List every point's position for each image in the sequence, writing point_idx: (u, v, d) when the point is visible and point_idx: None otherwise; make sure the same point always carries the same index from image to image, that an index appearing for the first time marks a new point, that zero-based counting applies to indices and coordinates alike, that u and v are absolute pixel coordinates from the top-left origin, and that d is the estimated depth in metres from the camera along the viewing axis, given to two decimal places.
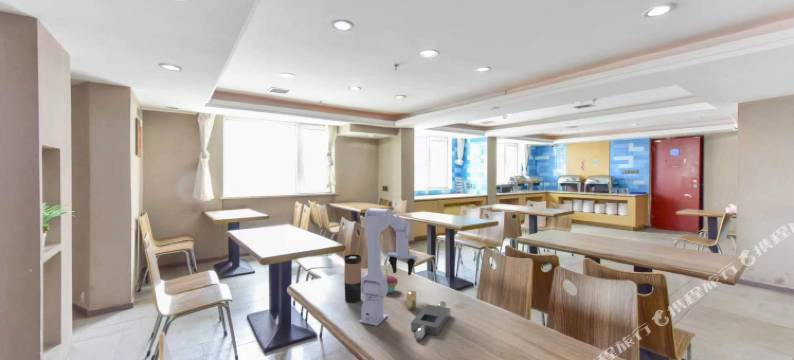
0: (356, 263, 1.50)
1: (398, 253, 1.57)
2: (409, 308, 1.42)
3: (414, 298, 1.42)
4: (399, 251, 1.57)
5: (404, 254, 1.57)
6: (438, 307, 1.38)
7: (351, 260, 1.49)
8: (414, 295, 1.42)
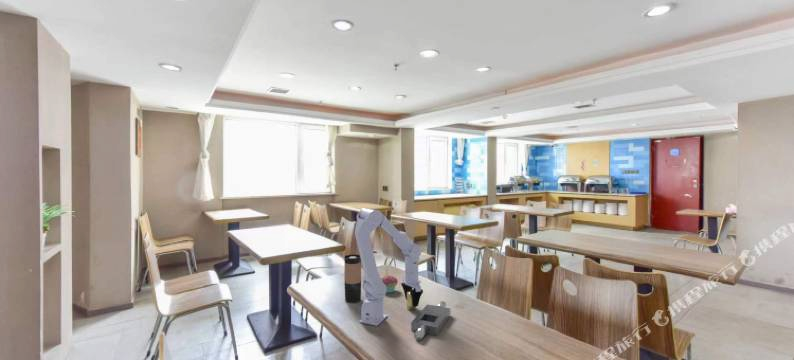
0: (356, 263, 1.50)
1: (405, 279, 1.43)
2: (409, 308, 1.42)
3: None
4: (405, 277, 1.43)
5: (409, 282, 1.41)
6: (438, 307, 1.38)
7: (351, 260, 1.49)
8: None
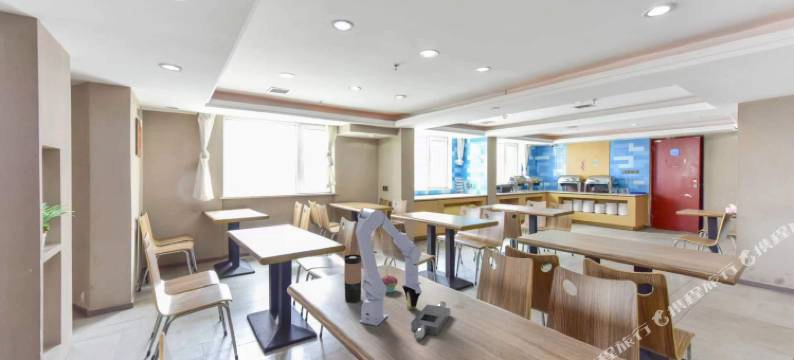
0: (356, 263, 1.50)
1: (405, 280, 1.43)
2: (409, 308, 1.42)
3: None
4: (405, 278, 1.43)
5: (409, 283, 1.41)
6: (438, 307, 1.38)
7: (351, 260, 1.49)
8: None
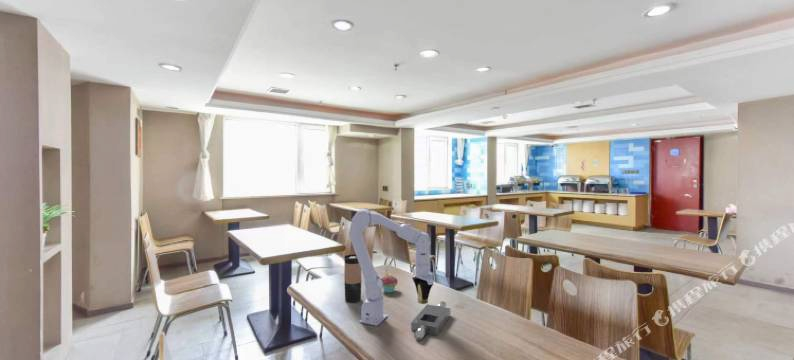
0: (356, 263, 1.50)
1: (415, 271, 1.33)
2: (420, 301, 1.32)
3: None
4: (416, 269, 1.32)
5: (420, 274, 1.31)
6: (438, 307, 1.38)
7: (351, 260, 1.49)
8: None
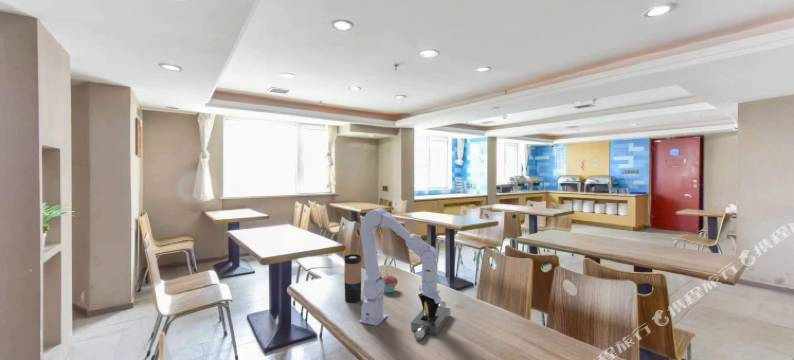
0: (356, 263, 1.50)
1: (422, 288, 1.27)
2: (427, 320, 1.26)
3: None
4: (422, 286, 1.27)
5: (427, 292, 1.25)
6: (438, 307, 1.38)
7: (351, 260, 1.49)
8: None
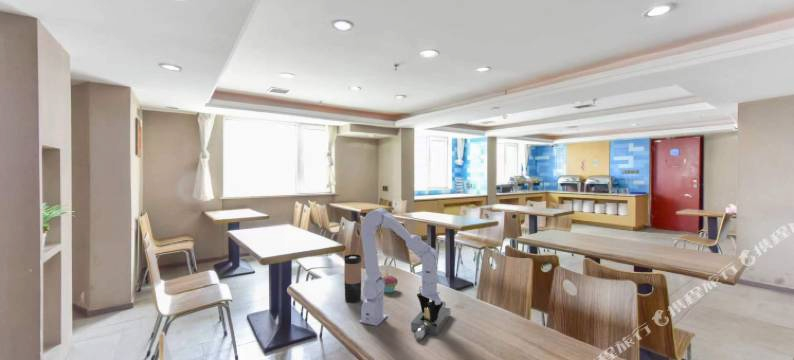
0: (356, 263, 1.50)
1: (422, 290, 1.27)
2: None
3: None
4: (422, 288, 1.27)
5: (427, 293, 1.25)
6: None
7: (351, 260, 1.49)
8: None
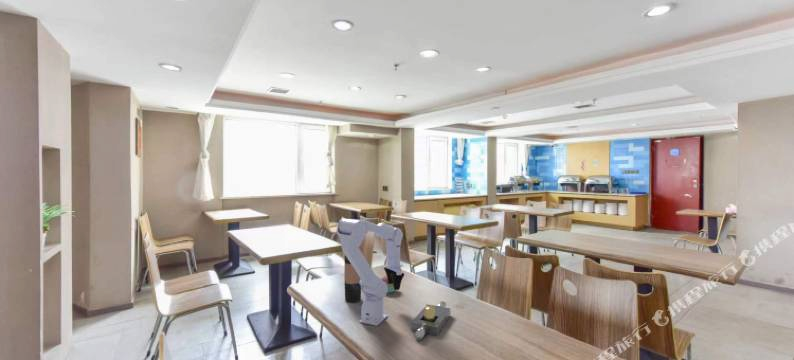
0: None
1: (387, 263, 1.43)
2: None
3: (433, 314, 1.26)
4: (387, 261, 1.43)
5: (390, 265, 1.41)
6: (438, 307, 1.38)
7: None
8: (433, 311, 1.26)
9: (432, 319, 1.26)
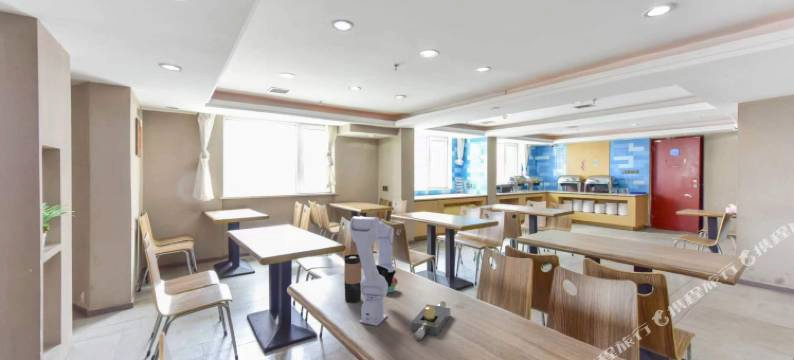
0: (356, 263, 1.50)
1: (378, 260, 1.47)
2: None
3: (433, 314, 1.26)
4: (379, 258, 1.46)
5: (382, 263, 1.45)
6: (438, 307, 1.38)
7: (351, 260, 1.49)
8: (433, 311, 1.26)
9: (432, 319, 1.26)
